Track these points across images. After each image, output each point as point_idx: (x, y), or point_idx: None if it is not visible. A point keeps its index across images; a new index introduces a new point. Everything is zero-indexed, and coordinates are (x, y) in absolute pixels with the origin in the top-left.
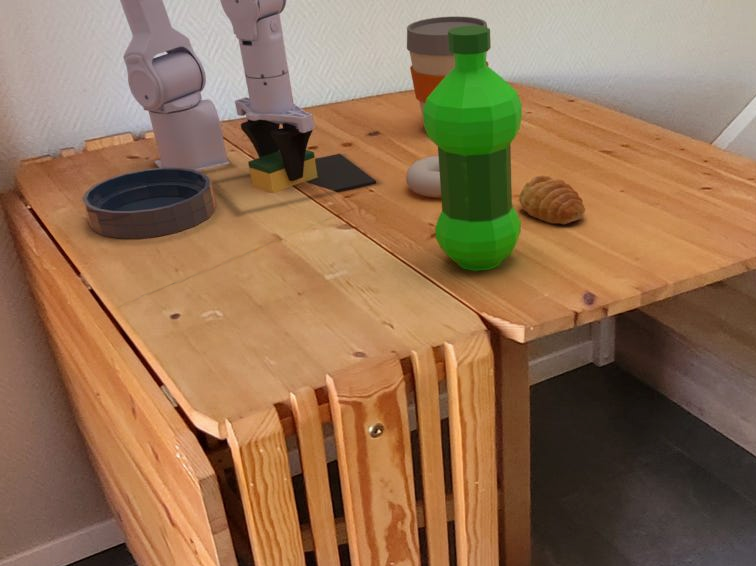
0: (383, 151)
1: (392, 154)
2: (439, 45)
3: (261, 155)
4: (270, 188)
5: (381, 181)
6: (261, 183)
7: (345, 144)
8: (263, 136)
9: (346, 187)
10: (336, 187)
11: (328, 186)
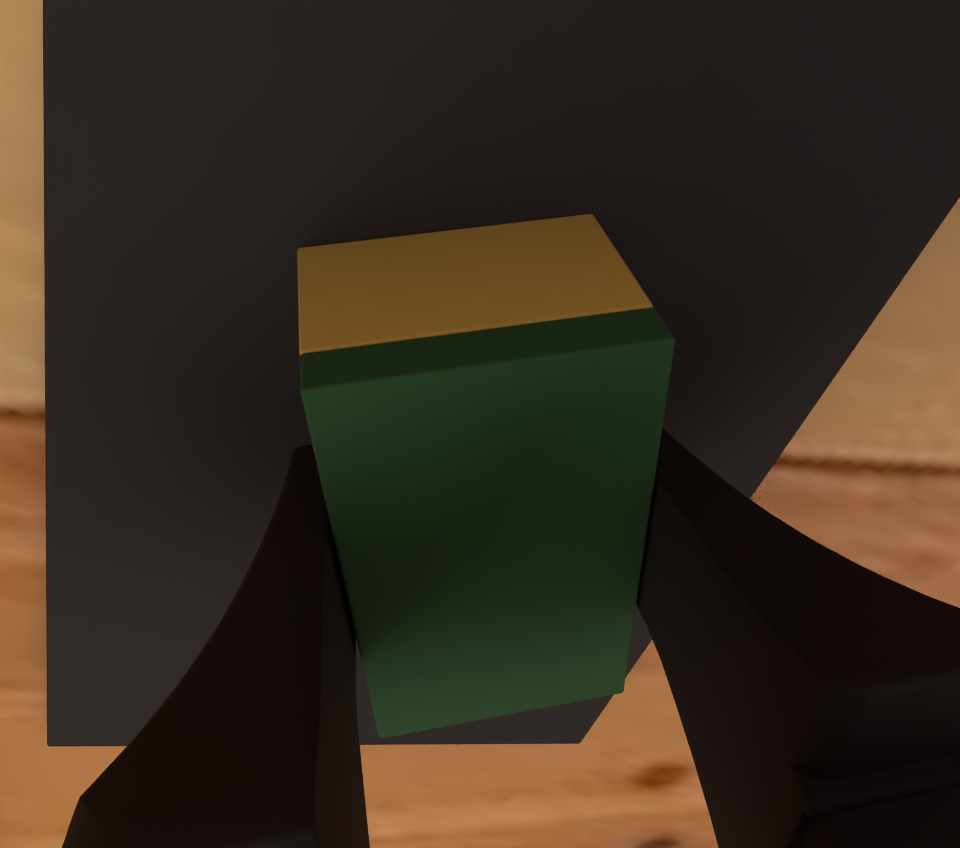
0: (458, 833)
1: (393, 844)
2: None
3: (666, 487)
4: (327, 267)
5: (72, 750)
6: (457, 259)
7: (673, 774)
8: (727, 666)
9: (49, 628)
10: (85, 593)
11: (146, 570)
